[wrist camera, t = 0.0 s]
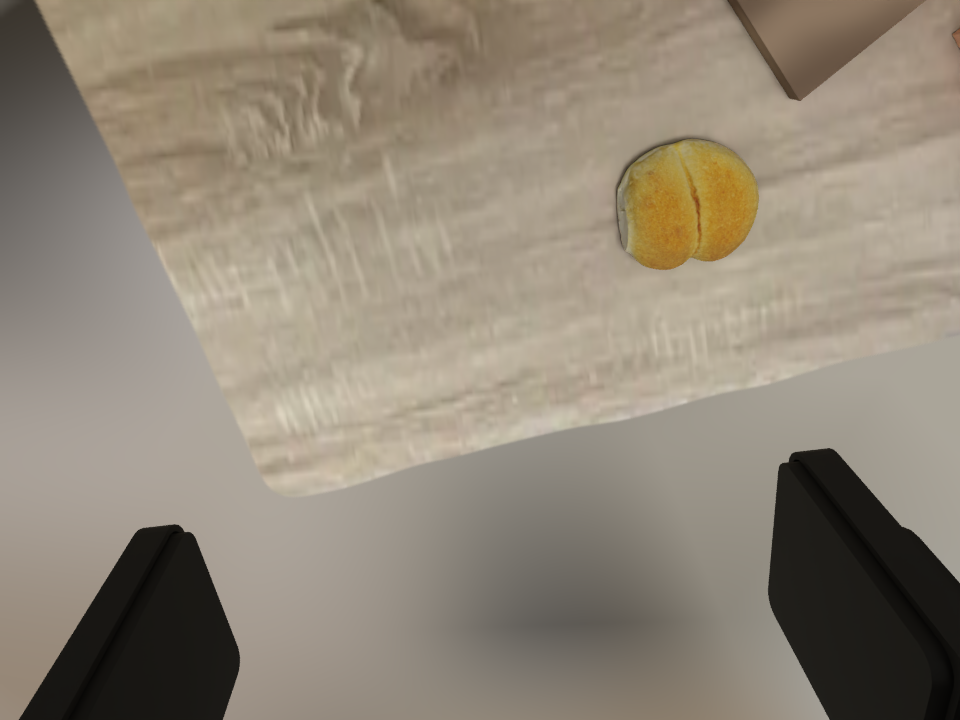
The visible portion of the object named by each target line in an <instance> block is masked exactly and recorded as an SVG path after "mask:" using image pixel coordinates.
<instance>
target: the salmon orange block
mask: <svg viewBox="0 0 960 720" xmlns="http://www.w3.org/2000/svg"><path fill="white" fill-rule="evenodd" d="M952 35H953V37H954V39H955V41H956V43H957V45H958V47H959V49H960V29H958V30H957V31H956V32H955V33H953V34H952Z"/></svg>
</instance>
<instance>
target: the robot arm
mask: <svg viewBox="0 0 960 720" xmlns="http://www.w3.org/2000/svg"><path fill="white" fill-rule="evenodd" d="M768 595H769V601H770V605H771V608H772V611H773V613H774V615H775V617H776V619H777V621H778V623H779V625H780V627H781V629H782V630H783V632H784V634H785V636H786V638H787V640H788V642H789V644H790V645H791V648H792V649H793V651H794V653H795V655H796V657H797V659H798V660H799V663H800V665H801V666H802V668H803V670H804V672H805V674H806V676H807V678H808V680H809V681H810V683H811V685H812V687H813V689H814V691H815V693H816V695H817V697H818V698H819V700H820V702H821V704H822V706H823V708H824V710H825V712H826V714H827V715H828V717H829V719H830V720H960V583H959V582H958V581H957V579H955V577H954V576H953V575H952V574H951V573H950V572H949V570H948V569H947V568H946V567H945V566H944V565H943V564H942V563H941V561H940V560H939V559H938V558H937V557H936V556H935V555H934V554H933V553H932V551H931V550H930V549H929V548H928V547H927V546H926V545H925V544H924V542H923V541H922V540H921V539H920V538H919V537H918V536H917V535H916V534H915V533H914V532H912V531H911V530H909V529H906V528H904V527H901V525H899V523H898V522H897V521H896V520H895V519H894V517H893V516H892V515H891V514H890V513H889V512H888V510H887V509H885V507H884V506H883V505H882V504H881V502H880V501H879V500H878V499H877V498H876V497H875V496H874V494H873V493H872V492H871V491H870V490H869V489H868V488H867V486H866V485H865V484H864V483H863V482H862V481H861V479H860V478H859V477H858V476H857V475H856V474H855V473H854V471H853V470H852V469H851V468H850V467H849V466H848V465H847V463H846V462H845V461H844V460H843V459H842V458H841V457H840V455H839V454H838V453H837V452H836V451H834V450H833V449H830V448H827V449H818V450H810V451H801V452H795V453H792V454H791V456H790V458H789V462H788V463H782V464H781V465H780V466H779V471H778V481H777V492H776V504H775V515H774V528H773V539H772V550H771V562H770V575H769V586H768ZM239 666H240V655H239V649H238V646H237V644H236V641H235V638H234V636H233V634H232V631H231V628H230V626H229V623H228V620H227V618H226V615H225V613H224V610H223V608H222V605H221V602H220V600H219V597H218V595H217V592H216V590H215V587H214V584H213V582H212V579H211V577H210V574H209V572H208V569H207V566H206V564H205V562H204V559H203V556H202V554H201V551H200V548H199V546H198V543H197V541H196V538H195V537H194V535H193V534H192V533H190V532H184V530H183V529H182V528H181V527H180V526H179V525H175V524H174V525H166V526H157V527H149V528H142V529H140V530H138V531H137V532H136V533H135V534H134V536H133V537H132V539H131V541H130V542H129V544H128V545H127V547H126V549H125V550H124V552H123V554H122V555H121V557H120V558H119V560H118V562H117V563H116V565H115V566H114V568H113V570H112V571H111V573H110V574H109V576H108V578H107V579H106V581H105V582H104V584H103V586H102V587H101V589H100V590H99V592H98V594H97V595H96V597H95V599H94V600H93V602H92V603H91V605H90V607H89V608H88V610H87V611H86V613H85V614H84V616H83V618H82V619H81V621H80V623H79V624H78V626H77V628H76V629H75V631H74V632H73V634H72V635H71V637H70V639H69V640H68V642H67V644H66V645H65V647H64V648H63V650H62V651H61V653H60V655H59V656H58V658H57V659H56V661H55V663H54V665H53V666H52V668H51V669H50V671H49V673H48V674H47V676H46V677H45V679H44V680H43V682H42V684H41V685H40V687H39V688H38V690H37V692H36V693H35V695H34V697H33V698H32V700H31V701H30V703H29V705H28V706H27V708H26V709H25V711H24V713H23V714H22V716H21V717H20V719H19V720H223V717H224V714H225V711H226V708H227V705H228V702H229V699H230V696H231V693H232V690H233V687H234V684H235V681H236V678H237V675H238V672H239Z"/></svg>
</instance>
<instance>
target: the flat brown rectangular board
mask: <svg viewBox="0 0 960 720" xmlns="http://www.w3.org/2000/svg"><path fill="white" fill-rule="evenodd" d="M728 1H729V3H730V5H731V6H732V8H733V9H734V11H735V13H736V14H737V16H738V17H739V19H740V20H741V22H742V24H743V25H744V27H745V28H746V30H747V32H748V33H749V35H750V36H751V38H752V40H753V41H754V43H755V44H756V46H757V47H758V49H759V51H760V52H761V54H762V55H763V57H764V59H765V60H766V62H767V63H768V65H769V66H770V68H771V70H772V71H773V73H774V74H775V76H776V78H777V79H778V81H779V82H780V84H781V86H782V87H783V89H784V90H785V92H786V93H787V95H788V97H789V98H790V99H794V100H798V101H801V100H802V99H803V98H804V97H806V96H807V95H808V94H809V93H811V92H812V91H813V90H814V89H816V88H817V87H818V86H819V85H821V84H822V83H823V82H824V81H826V80H827V79H828V78H829V77H831V76H832V75H833V74H834V73H836V72H837V71H838V70H839V69H841V68H842V67H843V66H844V65H846V64H847V63H848V62H849V61H851V60H852V59H853V58H854V57H856V56H857V55H858V54H859V53H861V52H862V51H863V50H864V49H866V48H867V47H868V46H869V45H871V44H872V43H873V42H874V41H876V40H877V39H878V38H879V37H881V36H882V35H883V34H884V33H886V32H887V31H888V30H889V29H891V28H892V27H893V26H894V25H896V24H897V23H898V22H899V21H901V20H902V19H903V18H904V17H906V16H907V15H908V14H909V13H911V12H912V11H913V10H914V9H916V8H917V7H918V6H919V5H921V4H922V3H923V2H924V1H926V0H728Z"/></svg>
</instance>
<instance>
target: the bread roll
mask: <svg viewBox="0 0 960 720" xmlns="http://www.w3.org/2000/svg"><path fill="white" fill-rule="evenodd" d="M617 192H618V193H617V215H618V220H619V229H620V234H621V242H622V244H623V247H624V250H625V251H626V252H628V253H629V254H631V255H632V256H633V257H634V258H635V259H636V260H637V261H638V262H639V263H641V264H642V265H643V266H646V267H648V268H653V269H659V270H669V269H673V268H675V267H678V266H680V265H682V264H683V263H684V262H685V261H687V260H688V259H689V258H695V259H697V260H701V261H715V260H719V259H722V258H724V257H726V256H727V255H729V254H730V253H732V252H733V251H734V250H735V249H736V248H737V247H738V246H739V245H740V244H741V243H742V242H743V241H744V240H745V238H746V237H747V235H748V233H749V231H750V229H751V227H752V225H753V223H754V220H755V217H756V213H757V210H758V201H759V194H758V185H757V182H756V180H755V177H754V175H753V173H752V172H751V170H750V168H749V167H748V166H747V164H746V163H745V162H744V161H743V160H742V159H741V158H740V157H739V156H738V155H737V154H735V153H734V152H733V151H731V150H730V149H728V148H726V147H724V146H722V145H720V144H718V143H715V142H711V141H706V140H701V139H686V140H682V141H679V142H676V143H674V144H669V145H664V146H660V147H657V148H655V149H653V150H651V151H649V152H648V153H646V154H645V155H643V156H641V157H640V158H639V159H638V160H637V161H635V162H634V163H633V164H632V165H631V166H630V167H629V168H628V169H627V171H626V173H625V175H624V177H623V179H622V181H621V184H620V185H619V187H618V191H617Z"/></svg>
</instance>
